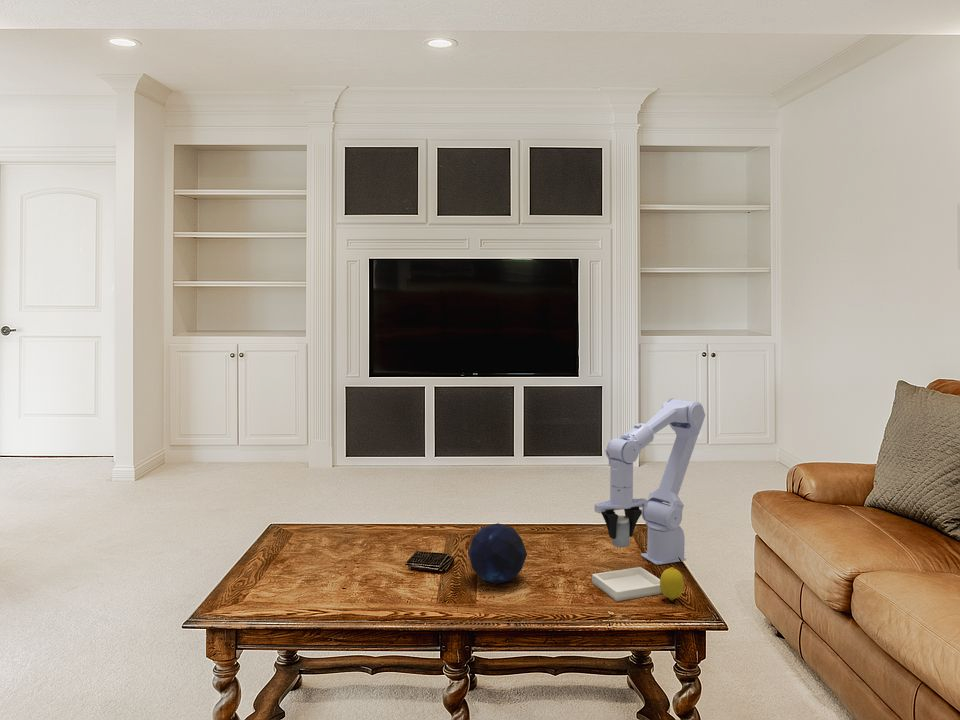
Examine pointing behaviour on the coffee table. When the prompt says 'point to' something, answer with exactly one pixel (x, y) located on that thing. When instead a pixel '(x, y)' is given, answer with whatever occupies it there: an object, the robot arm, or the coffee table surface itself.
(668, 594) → the lemon
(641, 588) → the tray
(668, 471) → the robot arm
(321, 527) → the coffee table surface
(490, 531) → the decorative orb
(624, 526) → the cylinder
